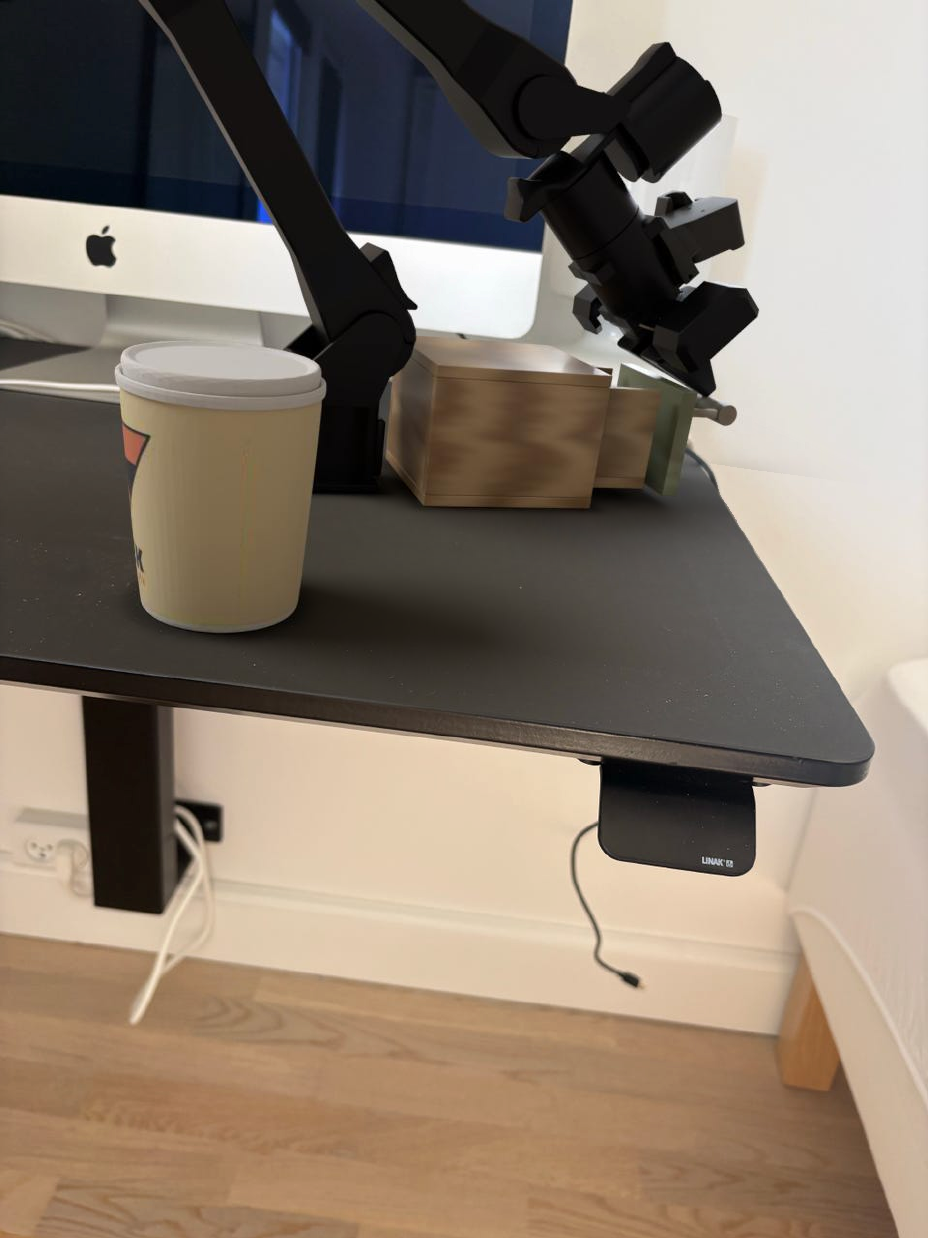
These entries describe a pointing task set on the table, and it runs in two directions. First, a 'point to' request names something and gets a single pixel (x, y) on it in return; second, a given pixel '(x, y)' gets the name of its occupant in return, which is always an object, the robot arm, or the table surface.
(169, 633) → the table surface
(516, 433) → the cabinet
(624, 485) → the drawer
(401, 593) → the table surface
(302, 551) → the coffee cup
